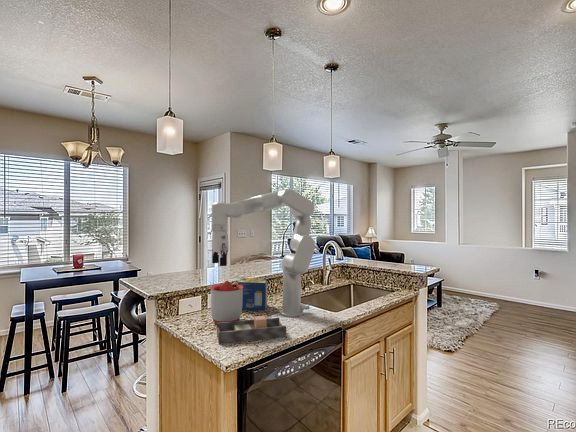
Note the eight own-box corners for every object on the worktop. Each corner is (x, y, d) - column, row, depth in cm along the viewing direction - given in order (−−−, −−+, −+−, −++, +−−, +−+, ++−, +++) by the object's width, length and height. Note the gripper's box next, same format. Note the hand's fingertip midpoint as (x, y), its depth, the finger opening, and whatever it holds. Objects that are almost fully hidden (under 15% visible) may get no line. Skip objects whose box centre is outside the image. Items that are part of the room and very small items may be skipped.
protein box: (240, 304, 178) (241, 277, 178) (267, 305, 178) (267, 278, 178) (237, 310, 168) (237, 281, 168) (265, 311, 167) (265, 282, 167)
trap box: (278, 327, 143) (278, 317, 143) (286, 337, 132) (286, 326, 132) (216, 333, 135) (216, 322, 135) (218, 343, 123) (219, 332, 123)
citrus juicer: (249, 317, 156) (249, 277, 156) (234, 329, 140) (234, 285, 140) (221, 314, 161) (221, 275, 161) (203, 325, 144) (204, 282, 144)
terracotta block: (264, 324, 137) (264, 315, 137) (266, 328, 133) (266, 319, 133) (254, 325, 136) (254, 316, 136) (256, 329, 132) (256, 320, 132)
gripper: (234, 229, 143) (234, 266, 143) (220, 227, 157) (219, 261, 157) (219, 229, 138) (218, 267, 138) (205, 228, 153) (205, 262, 153)
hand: (219, 264), depth 148 cm, fingers open, 9 cm apart
